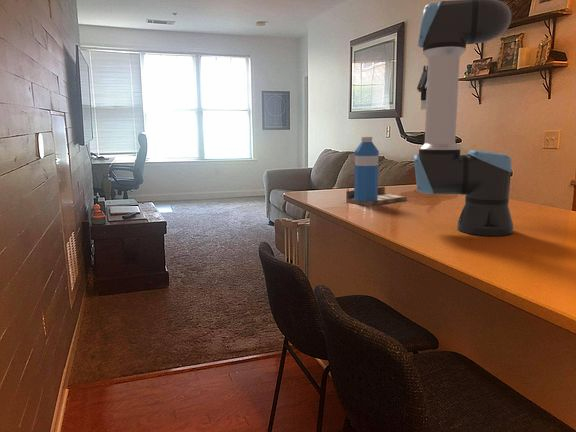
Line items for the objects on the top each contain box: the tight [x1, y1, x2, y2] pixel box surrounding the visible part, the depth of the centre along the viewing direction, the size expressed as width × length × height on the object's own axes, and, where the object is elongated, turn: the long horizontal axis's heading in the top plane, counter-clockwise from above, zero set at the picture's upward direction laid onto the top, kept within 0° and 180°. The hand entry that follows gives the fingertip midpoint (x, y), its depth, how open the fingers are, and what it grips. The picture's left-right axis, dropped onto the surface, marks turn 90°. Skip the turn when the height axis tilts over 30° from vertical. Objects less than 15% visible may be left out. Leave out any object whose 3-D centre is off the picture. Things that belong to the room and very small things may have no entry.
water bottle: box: [353, 136, 380, 202], centre depth 181 cm, size 9×9×25 cm
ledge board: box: [345, 186, 408, 207], centre depth 189 cm, size 22×13×5 cm, turn 125°
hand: (435, 109), depth 178 cm, fingers open, 13 cm apart
